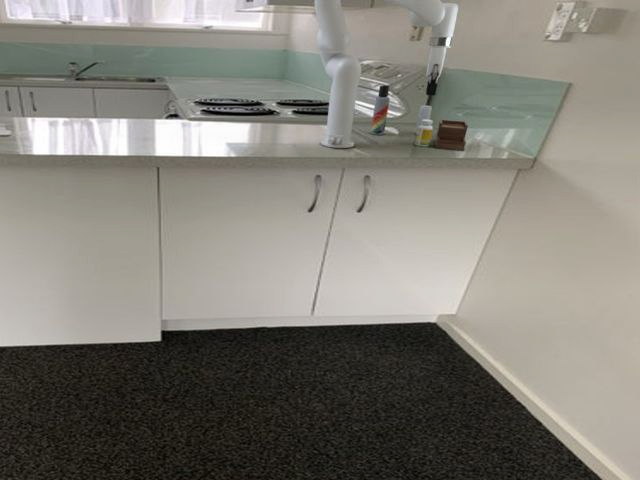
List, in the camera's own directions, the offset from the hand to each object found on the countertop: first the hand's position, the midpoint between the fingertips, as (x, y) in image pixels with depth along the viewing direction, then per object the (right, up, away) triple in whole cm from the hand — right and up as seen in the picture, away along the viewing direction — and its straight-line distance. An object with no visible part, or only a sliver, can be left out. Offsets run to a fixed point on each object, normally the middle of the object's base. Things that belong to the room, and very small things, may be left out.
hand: (430, 93), depth 159 cm
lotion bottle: (-13, -8, +26) cm, 30 cm away
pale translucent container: (+7, -8, +27) cm, 29 cm away
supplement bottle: (0, -18, +8) cm, 19 cm away
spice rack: (+11, -17, +8) cm, 22 cm away
